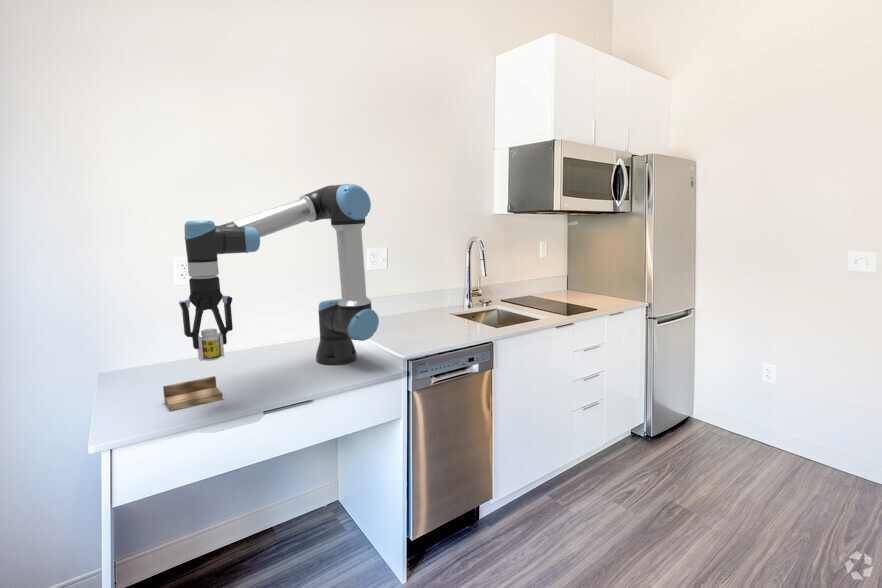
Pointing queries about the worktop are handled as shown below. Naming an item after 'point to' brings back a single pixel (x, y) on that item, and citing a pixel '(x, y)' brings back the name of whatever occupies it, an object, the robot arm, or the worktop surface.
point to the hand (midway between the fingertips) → (211, 357)
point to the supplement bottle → (210, 344)
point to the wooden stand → (191, 393)
